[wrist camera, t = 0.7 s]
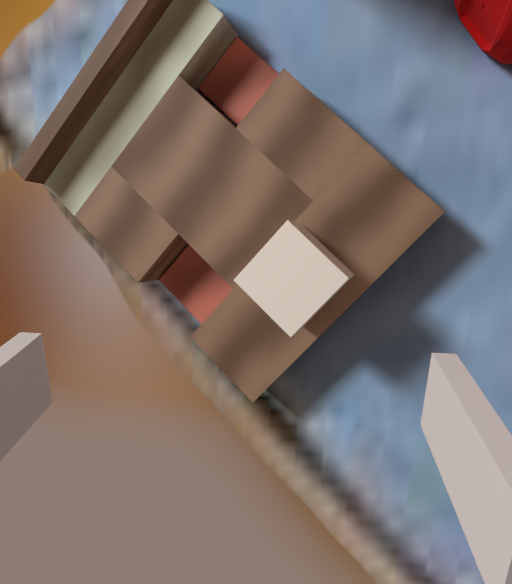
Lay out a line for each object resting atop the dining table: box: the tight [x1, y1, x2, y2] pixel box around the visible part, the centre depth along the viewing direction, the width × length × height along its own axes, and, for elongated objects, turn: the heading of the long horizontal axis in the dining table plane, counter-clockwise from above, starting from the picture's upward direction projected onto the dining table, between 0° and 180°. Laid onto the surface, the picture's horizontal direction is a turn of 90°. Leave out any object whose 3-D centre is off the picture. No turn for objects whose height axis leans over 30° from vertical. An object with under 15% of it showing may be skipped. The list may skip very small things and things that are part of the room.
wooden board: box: [14, 0, 445, 402], centre depth 41 cm, size 30×22×6 cm
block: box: [234, 220, 354, 337], centre depth 36 cm, size 6×6×5 cm
